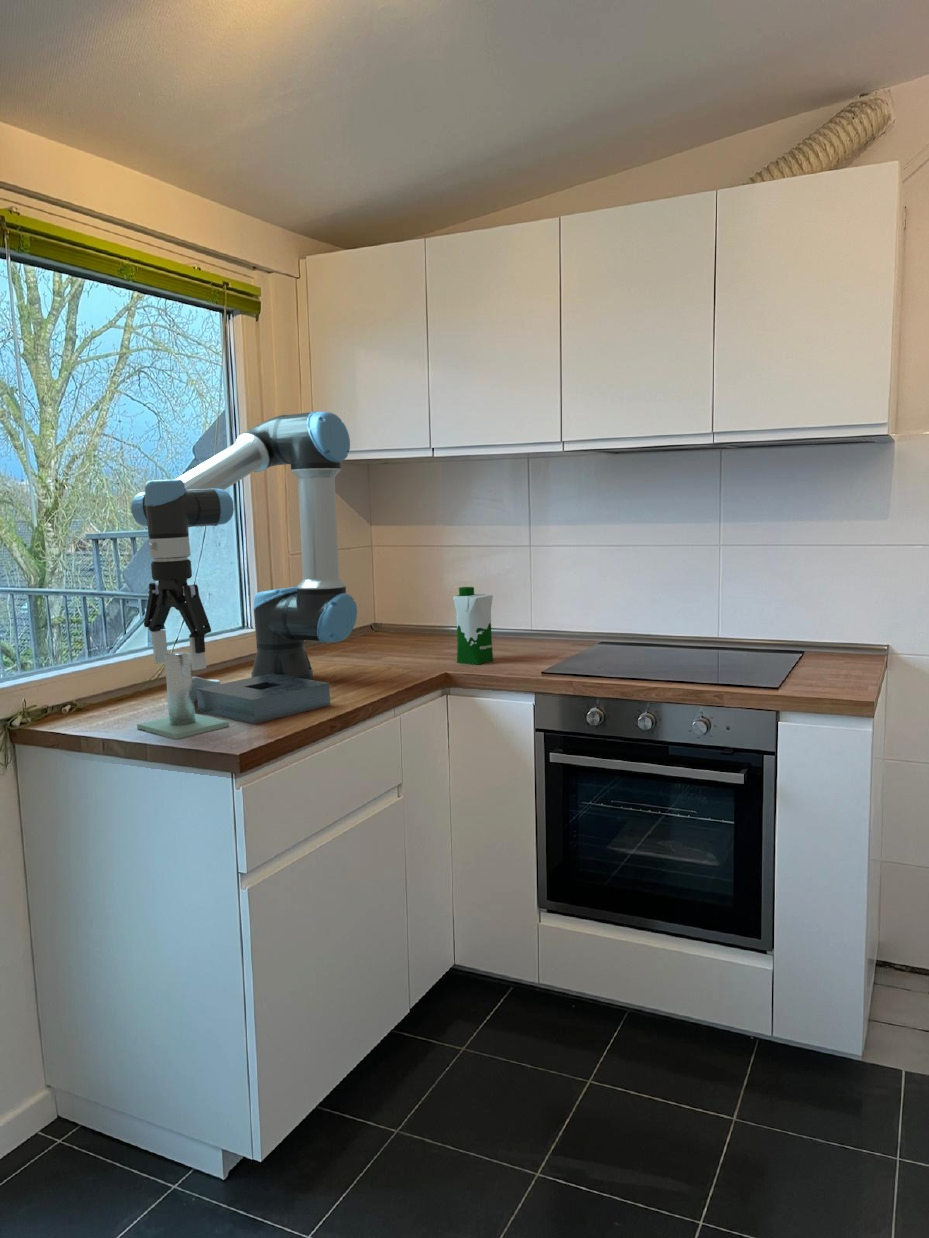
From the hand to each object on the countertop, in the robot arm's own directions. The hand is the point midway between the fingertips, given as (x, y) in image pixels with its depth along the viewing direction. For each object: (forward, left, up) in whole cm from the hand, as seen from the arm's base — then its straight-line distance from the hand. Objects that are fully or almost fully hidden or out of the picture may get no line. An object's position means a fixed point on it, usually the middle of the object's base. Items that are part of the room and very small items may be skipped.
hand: (179, 665), depth 184 cm
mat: (0, 0, -12) cm, 13 cm away
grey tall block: (0, 0, -11) cm, 12 cm away
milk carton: (+3, +87, -13) cm, 88 cm away
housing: (0, +20, -12) cm, 23 cm away
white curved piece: (-19, +14, -13) cm, 27 cm away
